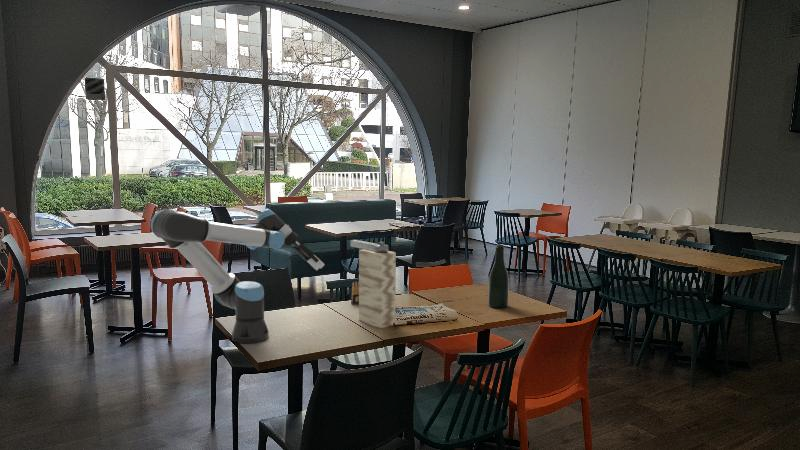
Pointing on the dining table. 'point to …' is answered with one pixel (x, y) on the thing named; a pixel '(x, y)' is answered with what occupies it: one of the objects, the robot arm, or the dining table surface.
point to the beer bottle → (498, 281)
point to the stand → (377, 288)
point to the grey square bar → (370, 246)
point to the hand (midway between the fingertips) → (320, 267)
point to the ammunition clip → (355, 294)
